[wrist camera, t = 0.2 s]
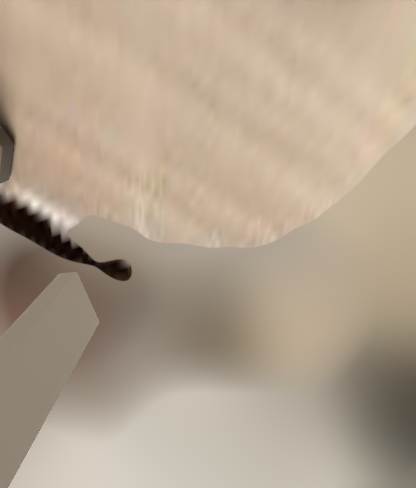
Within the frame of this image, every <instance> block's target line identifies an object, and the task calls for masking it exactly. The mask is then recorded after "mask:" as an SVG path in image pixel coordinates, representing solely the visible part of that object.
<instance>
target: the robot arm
mask: <svg viewBox="0 0 416 488" xmlns="http://www.w3.org/2000/svg"><path fill="white" fill-rule="evenodd" d="M98 324H99V320H98V318H97V316H96V314H95V311H94V309H93V307H92V305H91V303H90V300H89V298H88V296H87V294H86V291H85V289H84V287H83V285H82V283H81V280H80V278H79V276H78V273H77V272H73V273H60V274H58V276H56V278H55V279H54V280H53V281H52V282H51V283H50V284H49V285H48V286H47V287H46V289H45V290H44V291H43V292H42V293H41V294H40V295H39V296H38V297H37V298H36V300H34V302H33V303H32V304H31V305H30V306H29V307H28V308H27V309H26V310H25V311H24V313H23V314H22V315H21V316H20V317H19V318H18V319H17V320H16V321H15V322H14V323H13V324H12V326H11V327H10V328H9V329H8V330H7V331H6V332H5V333H4V334H3V335H2V336H1V337H0V488H8V487H9V485H10V483H11V481H12V479H13V477H14V476H15V474H16V472H17V470H18V469H19V467H20V465H21V463H22V461H23V459H24V458H25V456H26V454H27V452H28V451H29V449H30V447H31V445H32V443H33V441H34V440H35V438H36V436H37V434H38V433H39V431H40V429H41V427H42V425H43V423H44V422H45V420H46V418H47V416H48V414H49V413H50V411H51V409H52V407H53V405H54V404H55V402H56V400H57V398H58V396H59V394H60V393H61V391H62V389H63V387H64V386H65V384H66V382H67V380H68V378H69V376H70V375H71V372H72V371H73V369H74V367H75V366H76V364H77V362H78V360H79V358H80V357H81V355H82V353H83V351H84V349H85V348H86V346H87V344H88V342H89V340H90V339H91V337H92V335H93V333H94V331H95V329H96V328H97V326H98Z"/></svg>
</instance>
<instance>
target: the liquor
mask: <svg viewBox="0 0 416 488" xmlns="http://www.w3.org/2000/svg"><path fill="white" fill-rule="evenodd" d="M13 151H14V143H13V141H12V140H11V138H10V137H9V135H8V133H7V132H6V130H5V129H4V127H3V125H1V124H0V183H2V182H5V181H7V180H9V177H10V174H11V166H12V159H13Z"/></svg>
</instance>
